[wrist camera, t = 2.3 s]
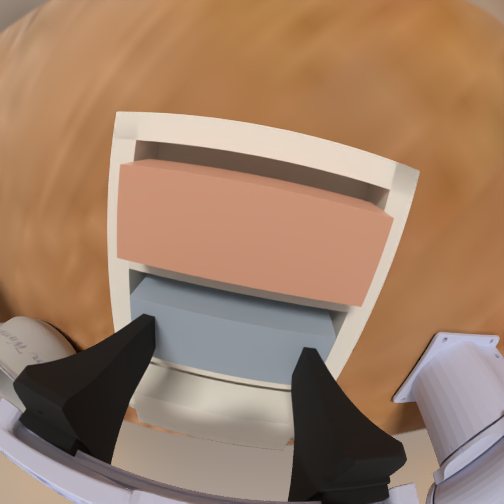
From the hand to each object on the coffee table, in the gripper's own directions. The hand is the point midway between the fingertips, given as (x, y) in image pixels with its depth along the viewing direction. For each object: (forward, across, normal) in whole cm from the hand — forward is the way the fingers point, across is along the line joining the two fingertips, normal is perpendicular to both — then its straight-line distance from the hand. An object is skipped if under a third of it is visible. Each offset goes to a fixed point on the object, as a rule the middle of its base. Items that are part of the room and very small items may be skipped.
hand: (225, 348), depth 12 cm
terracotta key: (+1, 0, -6) cm, 6 cm away
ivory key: (+1, 0, +6) cm, 6 cm away
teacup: (+5, +18, +10) cm, 21 cm away
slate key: (+2, 0, 0) cm, 2 cm away
